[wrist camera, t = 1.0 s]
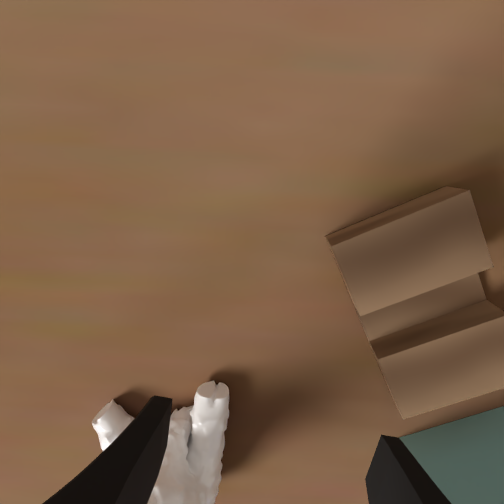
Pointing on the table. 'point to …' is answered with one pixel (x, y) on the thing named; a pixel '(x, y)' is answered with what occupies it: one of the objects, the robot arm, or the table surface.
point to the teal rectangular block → (464, 457)
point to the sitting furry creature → (182, 446)
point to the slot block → (425, 299)
